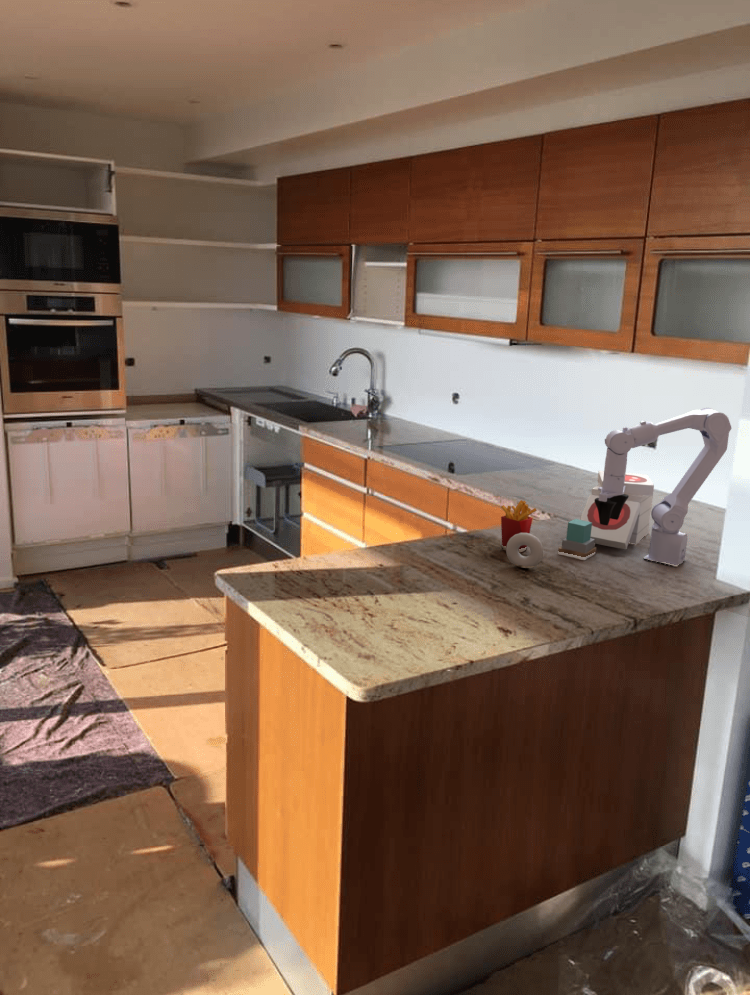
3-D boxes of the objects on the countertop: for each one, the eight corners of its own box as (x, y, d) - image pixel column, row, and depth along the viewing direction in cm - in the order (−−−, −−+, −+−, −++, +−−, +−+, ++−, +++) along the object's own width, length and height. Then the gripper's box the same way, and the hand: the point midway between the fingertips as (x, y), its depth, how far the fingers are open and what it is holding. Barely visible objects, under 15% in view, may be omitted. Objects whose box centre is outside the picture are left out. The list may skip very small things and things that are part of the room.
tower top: (594, 547, 238) (595, 539, 238) (585, 553, 233) (586, 544, 232) (570, 542, 242) (571, 534, 241) (561, 548, 236) (562, 539, 236)
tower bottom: (595, 556, 239) (596, 547, 238) (584, 562, 233) (584, 554, 232) (569, 549, 243) (570, 541, 243) (557, 556, 237) (558, 548, 237)
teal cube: (590, 539, 237) (592, 522, 236) (582, 543, 233) (584, 526, 232) (573, 535, 240) (575, 518, 239) (566, 539, 236) (568, 522, 235)
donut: (503, 567, 224) (506, 531, 222) (506, 563, 227) (509, 528, 225) (540, 573, 221) (543, 537, 218) (542, 569, 224) (546, 533, 221)
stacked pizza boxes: (566, 544, 246) (572, 485, 242) (597, 522, 271) (603, 467, 267) (632, 557, 237) (639, 496, 232) (657, 533, 262) (665, 477, 257)
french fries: (497, 549, 239) (501, 499, 235) (514, 544, 245) (518, 494, 241) (522, 557, 233) (527, 505, 229) (539, 551, 239) (544, 501, 235)
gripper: (610, 467, 238) (605, 513, 242) (590, 476, 227) (585, 524, 230) (634, 471, 234) (629, 518, 238) (615, 480, 223) (609, 529, 226)
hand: (609, 521), depth 234 cm, fingers open, 7 cm apart
